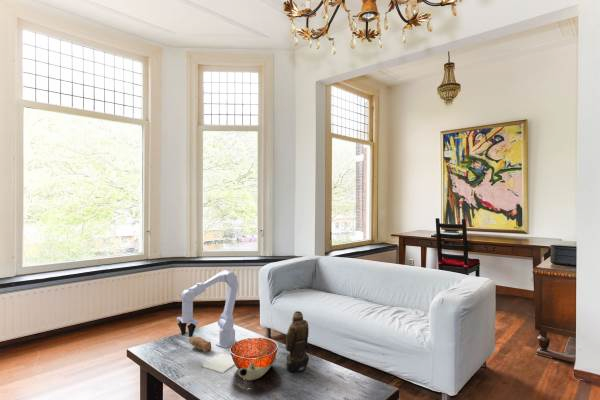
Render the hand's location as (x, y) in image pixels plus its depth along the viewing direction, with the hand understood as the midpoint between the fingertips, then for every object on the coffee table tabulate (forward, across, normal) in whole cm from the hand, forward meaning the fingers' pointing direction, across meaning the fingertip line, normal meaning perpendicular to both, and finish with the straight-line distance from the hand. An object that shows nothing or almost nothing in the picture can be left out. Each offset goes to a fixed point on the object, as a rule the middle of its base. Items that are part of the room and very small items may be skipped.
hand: (187, 335), depth 193 cm
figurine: (+6, +9, +6) cm, 12 cm away
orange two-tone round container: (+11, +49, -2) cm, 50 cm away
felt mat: (+10, +24, +1) cm, 26 cm away
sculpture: (+11, +61, +15) cm, 64 cm away
